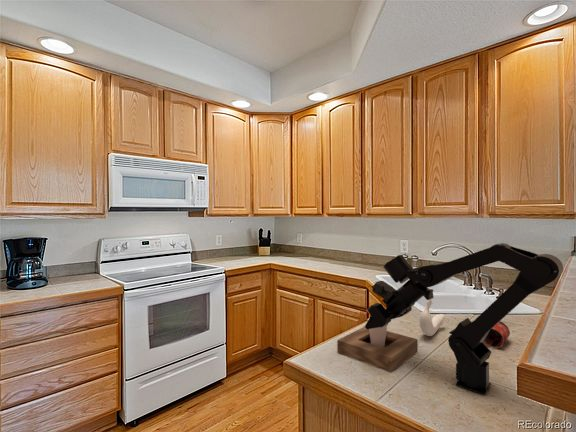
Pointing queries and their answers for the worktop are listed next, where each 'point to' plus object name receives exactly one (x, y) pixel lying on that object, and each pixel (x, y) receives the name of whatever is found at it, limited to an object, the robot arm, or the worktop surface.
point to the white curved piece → (430, 320)
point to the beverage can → (497, 335)
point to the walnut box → (378, 349)
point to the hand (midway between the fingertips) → (373, 324)
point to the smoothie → (378, 335)
